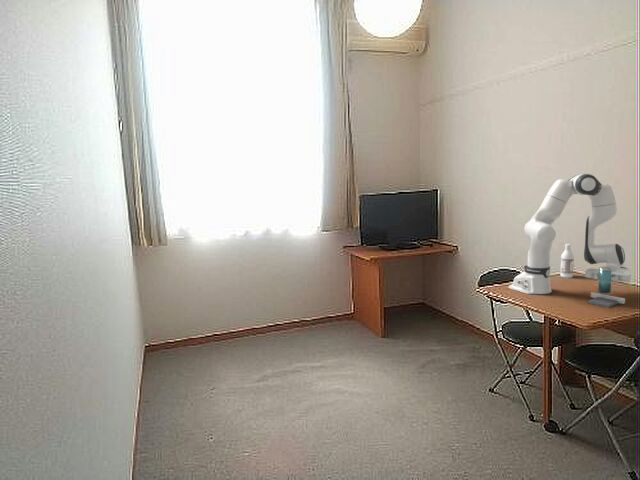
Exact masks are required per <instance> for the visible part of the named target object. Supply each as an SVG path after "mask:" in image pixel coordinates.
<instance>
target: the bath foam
mask: <svg viewBox="0 0 640 480" xmlns="http://www.w3.org/2000/svg"><path fill="white" fill-rule="evenodd" d="M571 245H572V244H571V243H566V244H565V247H564V251H563V252H562V253H561V255H560V277H561V278H565V279H566V278H567V279H569V278H573V277H574V266H575V265H574V263H575V260H574V259H575V256H574V253H573V252H572V251H571V250H572V249H571Z"/></svg>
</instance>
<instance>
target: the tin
mask: <svg viewBox="0 0 640 480" xmlns="http://www.w3.org/2000/svg"><path fill="white" fill-rule="evenodd" d="M598 269H599V280H598V283H597V284H598V288H597V289H598V291H597V293H599V294H611V291H612V282H611V272H612V268H609V267H603V266H600V267H598Z"/></svg>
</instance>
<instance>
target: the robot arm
mask: <svg viewBox="0 0 640 480" xmlns="http://www.w3.org/2000/svg"><path fill="white" fill-rule="evenodd" d="M573 195H581V196H588V197H589V198H590V201H591V202H590V203H591V213H590V215H589V216H587V217H586V222H585V235H584V236H585V237H584V238H585V239H584V250H583V258H584V259H583V260H584V261H585V262H587V263H588V264H590V265H595V264H596V265H597V264H604V263H605V264H604V265H603V266H602V267H609V268H612V272H611V283H612V282H624V283H630V282H631V277H632V272H631V269H630V268H629V267H625V264H624V263H625V261H626V255H625V250H624V248H623V247H622V246H621V245H620V244H618V243H607V244H597V245H596V244H595V234H596V233H595V232H596V228H597V227H598V226H601V225H602V224H605V223H607V222H608V221H609V222H610V220H612V219H613V218H614V217H615V216H616V214H617V203H616V197H615V193H614V191H613V188H612V186H611V185H610V184H608V183H601V182H600V181H599V180H598V178H597V177H596V176H594V175H593V174H589V173H579V174H577V175H574V176H571V178H569V179H565V178H560V179H559V178H558V179H557V180H556V181H554V183H553V184H552V185H551V187H550V188H549V190H548V192H547V194H546V196H545V197H544V199H543V201H542V203H541V204H540V206H539V208H538V210H536V212H535V213H534V215H533V216H532V217H531V218H530V220H529V221H527V222H525V225H524V227H523V228H524V233H525V235H526V236H527V238H529V239H530V246H529V249H528V251H527V264H526V265H524V266H523V267H522V269H523V271H522V272H520V273H519V274H517V275H516V276H515V277H514V278H513V282H512V283H511V284H509V286H508V289H510V290H513V291H517V292H521V293H524V294H528V295H546V294H547V295H548V294H550V293H552V291H553V290H552V288H551V282H550V275H551V266H550V256H551V255H550V254H551V249H552V245H553V241H554V240H555V239H556V230H555V228H554V227H553V226H552V225H553V223H555V221H556V220H557V219H558V218H560V217H561V215H562V214H563V211H564V210H565V208H566V206H567V204H568V202H569V200H570V198H571V197H572V196H573ZM584 278H588V279H595V280H598V281H599V268H588V269H586V270H585V271H584Z"/></svg>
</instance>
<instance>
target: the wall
mask: <svg viewBox="0 0 640 480" xmlns="http://www.w3.org/2000/svg"><path fill="white" fill-rule="evenodd" d="M596 297H600V298H606V299H611V300H616V301H618V304H623V305H625V304H626V297H625V298H624V297H619V296H615V295H608V294H605V293H600V292H594V291H591V292H590V298H591V299H594V298H596Z"/></svg>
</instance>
